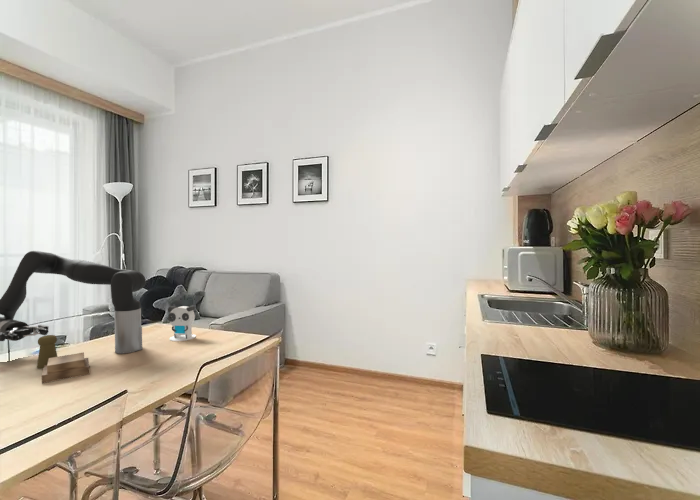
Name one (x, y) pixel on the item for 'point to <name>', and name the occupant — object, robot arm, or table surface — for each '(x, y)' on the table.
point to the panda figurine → (181, 322)
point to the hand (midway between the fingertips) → (31, 335)
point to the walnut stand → (65, 367)
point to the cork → (46, 350)
